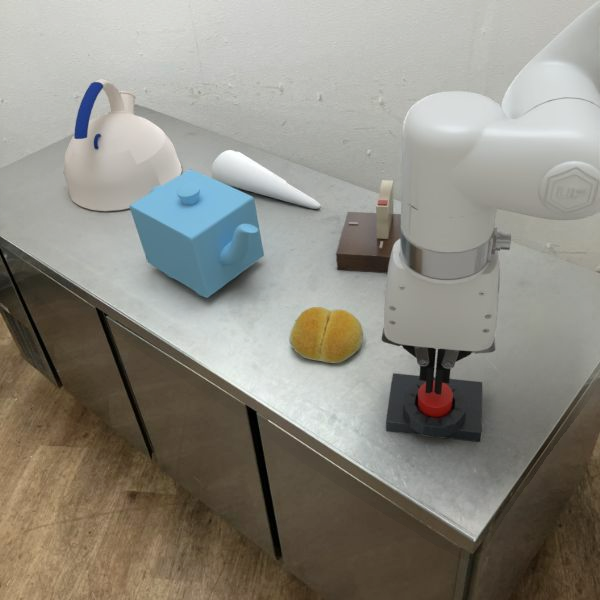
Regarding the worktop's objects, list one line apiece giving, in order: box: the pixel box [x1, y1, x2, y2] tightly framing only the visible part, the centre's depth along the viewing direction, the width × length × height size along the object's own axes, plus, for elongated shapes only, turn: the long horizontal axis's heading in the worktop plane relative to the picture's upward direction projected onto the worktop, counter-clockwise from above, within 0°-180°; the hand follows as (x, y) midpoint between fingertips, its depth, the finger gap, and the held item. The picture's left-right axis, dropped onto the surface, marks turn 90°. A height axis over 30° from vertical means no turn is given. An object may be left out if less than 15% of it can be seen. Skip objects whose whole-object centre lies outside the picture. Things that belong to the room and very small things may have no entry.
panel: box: [335, 211, 401, 274], centre depth 94 cm, size 12×12×3 cm
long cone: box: [210, 149, 322, 210], centre depth 106 cm, size 6×6×19 cm
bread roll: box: [288, 306, 364, 364], centre depth 80 cm, size 8×9×4 cm
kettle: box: [63, 78, 183, 213], centre depth 110 cm, size 20×21×18 cm
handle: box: [375, 179, 394, 239], centre depth 91 cm, size 6×2×6 cm, turn 167°
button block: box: [385, 373, 483, 443], centre depth 71 cm, size 10×8×4 cm
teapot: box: [129, 168, 265, 299], centre depth 89 cm, size 22×11×14 cm, turn 48°
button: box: [418, 381, 453, 418], centre depth 69 cm, size 4×4×2 cm
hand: (434, 383), depth 67 cm, fingers closed
